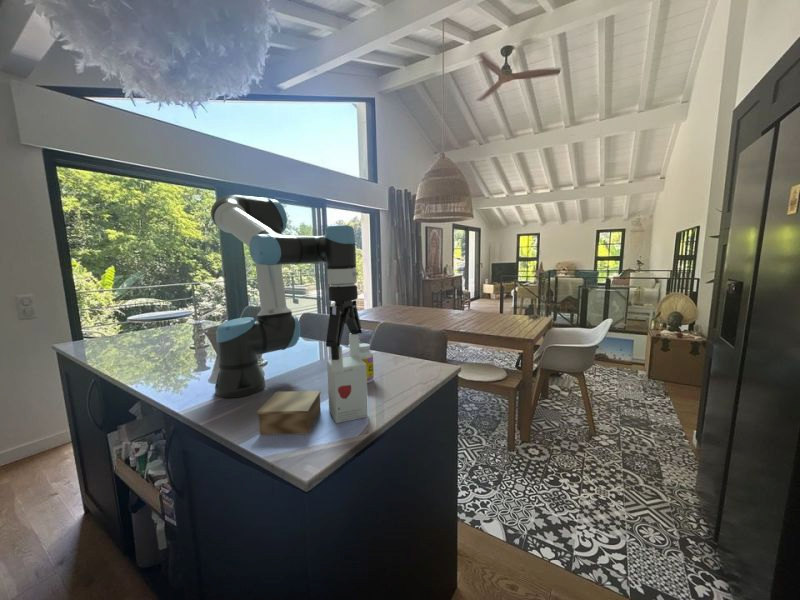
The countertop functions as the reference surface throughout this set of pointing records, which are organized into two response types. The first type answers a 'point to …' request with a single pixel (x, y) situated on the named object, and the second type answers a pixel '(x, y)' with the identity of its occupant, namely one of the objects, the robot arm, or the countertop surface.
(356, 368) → the supplement box
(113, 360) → the countertop surface
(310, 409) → the walnut box
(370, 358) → the supplement bottle
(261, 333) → the robot arm
